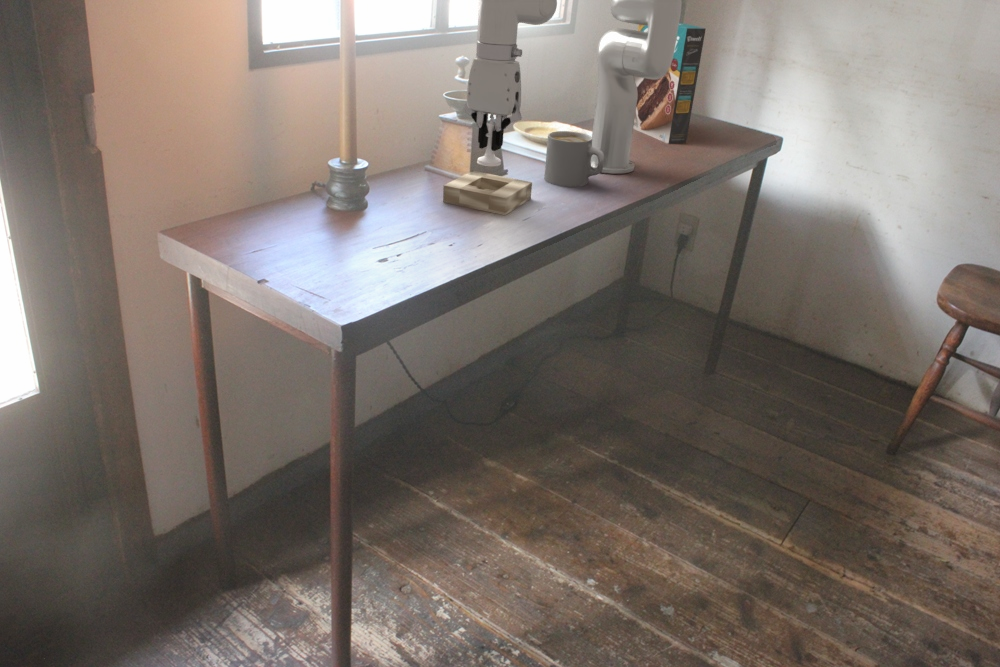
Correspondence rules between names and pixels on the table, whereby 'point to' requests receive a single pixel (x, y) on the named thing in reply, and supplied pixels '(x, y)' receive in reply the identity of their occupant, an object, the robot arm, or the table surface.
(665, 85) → the cake mix box
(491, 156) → the chess piece
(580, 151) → the coffee mug
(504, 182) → the socket board
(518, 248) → the table surface
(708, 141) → the table surface
